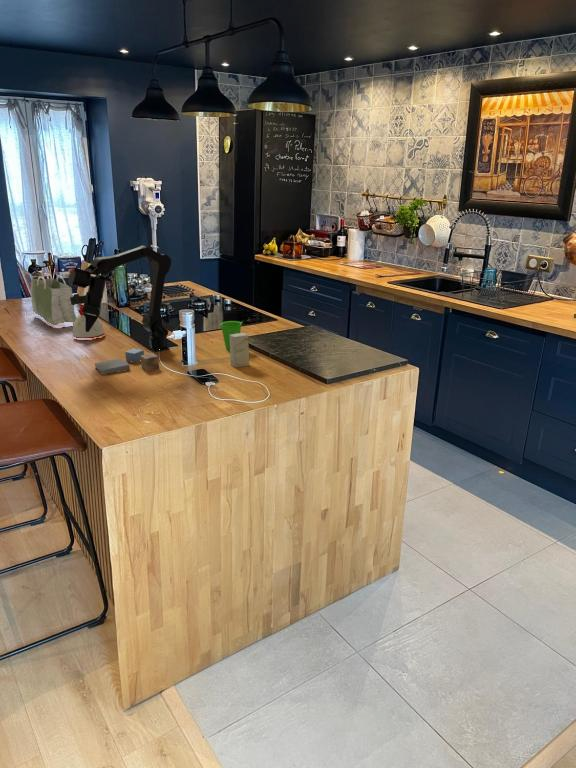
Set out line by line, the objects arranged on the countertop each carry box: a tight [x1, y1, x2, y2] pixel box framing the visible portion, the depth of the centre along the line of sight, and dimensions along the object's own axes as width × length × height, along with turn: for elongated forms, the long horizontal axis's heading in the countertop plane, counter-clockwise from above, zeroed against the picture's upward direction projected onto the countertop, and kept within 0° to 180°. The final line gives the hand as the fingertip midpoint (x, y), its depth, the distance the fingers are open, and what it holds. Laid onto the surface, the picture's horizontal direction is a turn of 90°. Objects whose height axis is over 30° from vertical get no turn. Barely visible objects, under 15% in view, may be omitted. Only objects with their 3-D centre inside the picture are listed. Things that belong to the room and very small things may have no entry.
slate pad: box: [94, 358, 131, 375], centre depth 222 cm, size 10×10×2 cm
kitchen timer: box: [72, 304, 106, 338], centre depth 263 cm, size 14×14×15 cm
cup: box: [219, 320, 243, 352], centre depth 241 cm, size 9×9×11 cm
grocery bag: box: [30, 274, 77, 325], centre depth 291 cm, size 32×14×23 cm, turn 39°
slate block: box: [124, 348, 145, 363], centre depth 231 cm, size 5×5×4 cm
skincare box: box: [229, 332, 250, 368], centre depth 221 cm, size 6×4×12 cm
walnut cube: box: [140, 352, 160, 372], centre depth 221 cm, size 5×5×5 cm
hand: (87, 330), depth 224 cm, fingers open, 9 cm apart
